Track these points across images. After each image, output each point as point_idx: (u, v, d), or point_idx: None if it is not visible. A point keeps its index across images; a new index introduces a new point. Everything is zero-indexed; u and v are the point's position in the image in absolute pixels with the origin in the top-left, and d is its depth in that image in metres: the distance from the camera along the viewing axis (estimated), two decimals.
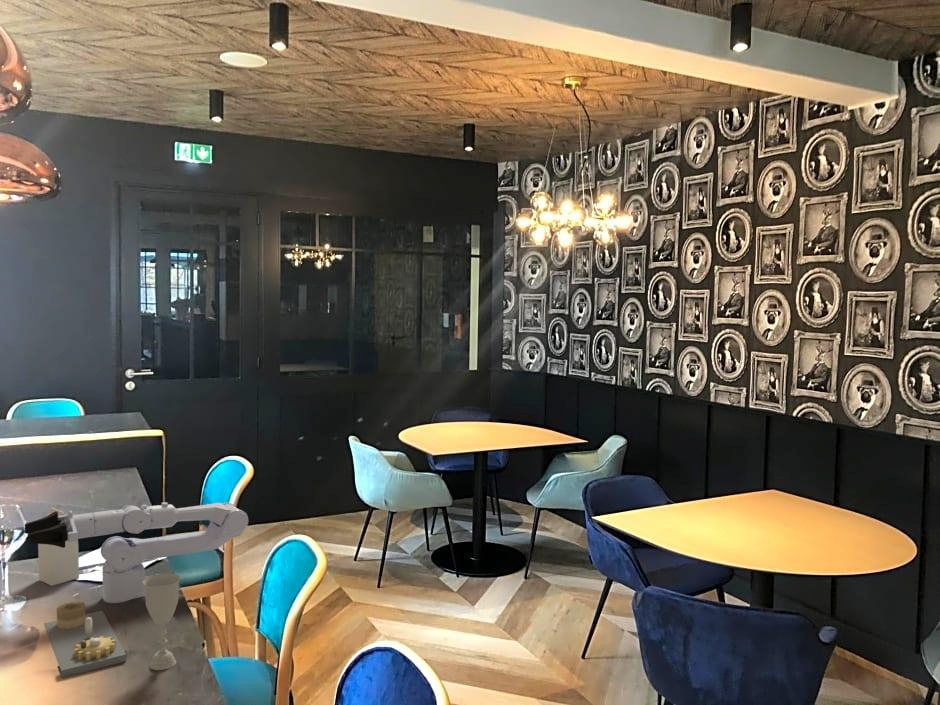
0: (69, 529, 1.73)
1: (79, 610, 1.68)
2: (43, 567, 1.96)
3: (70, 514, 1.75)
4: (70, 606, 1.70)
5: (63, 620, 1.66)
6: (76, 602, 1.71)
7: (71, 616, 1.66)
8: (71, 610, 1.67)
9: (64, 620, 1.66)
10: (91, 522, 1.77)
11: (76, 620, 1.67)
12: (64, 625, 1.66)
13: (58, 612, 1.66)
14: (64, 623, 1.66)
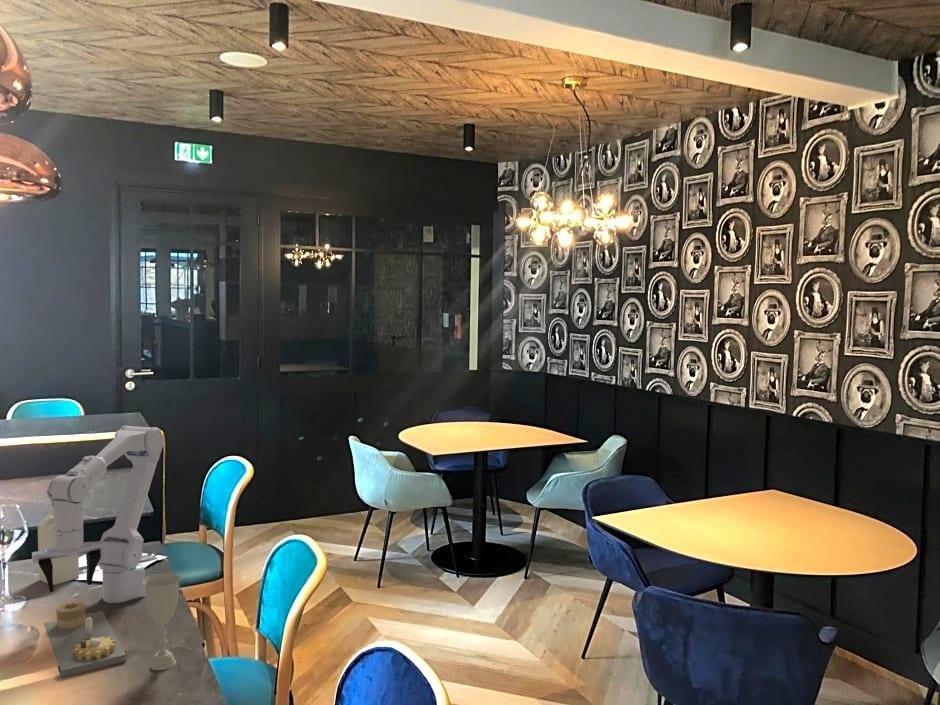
0: None
1: (79, 610, 1.68)
2: None
3: None
4: (70, 606, 1.70)
5: (63, 620, 1.66)
6: (76, 602, 1.71)
7: (71, 616, 1.66)
8: (71, 610, 1.67)
9: (64, 620, 1.66)
10: (82, 530, 1.68)
11: (76, 620, 1.67)
12: (64, 625, 1.66)
13: (58, 612, 1.66)
14: (64, 623, 1.66)
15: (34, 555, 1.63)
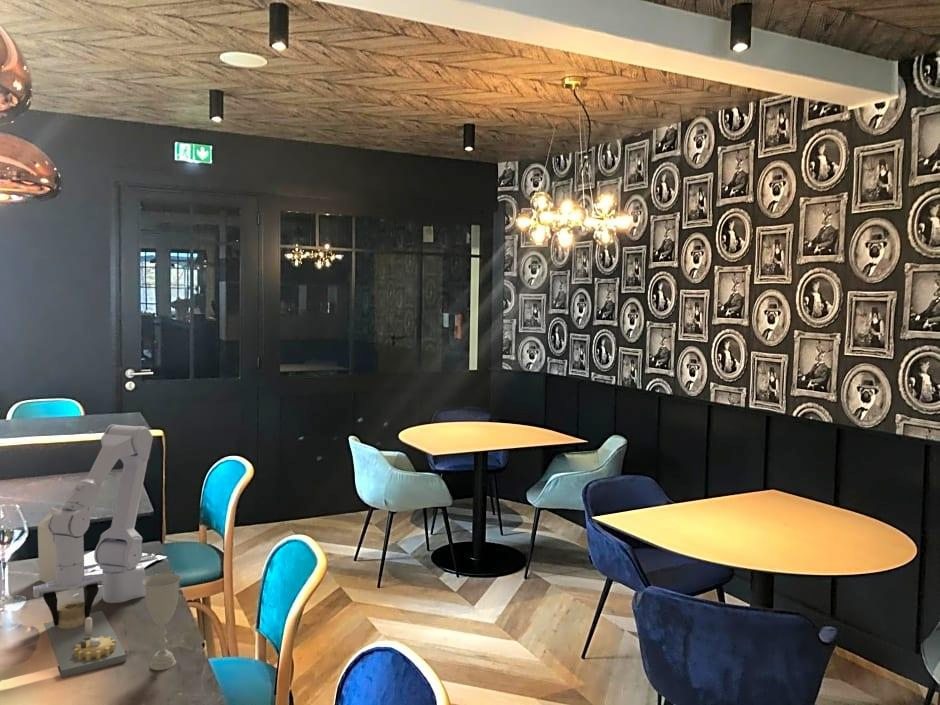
0: None
1: (79, 610, 1.68)
2: (43, 567, 1.96)
3: None
4: (70, 606, 1.70)
5: (63, 620, 1.66)
6: (76, 602, 1.71)
7: (71, 616, 1.66)
8: (71, 610, 1.67)
9: (64, 620, 1.66)
10: (83, 564, 1.68)
11: (76, 620, 1.67)
12: (64, 625, 1.66)
13: (58, 612, 1.66)
14: (64, 623, 1.66)
15: (35, 590, 1.63)
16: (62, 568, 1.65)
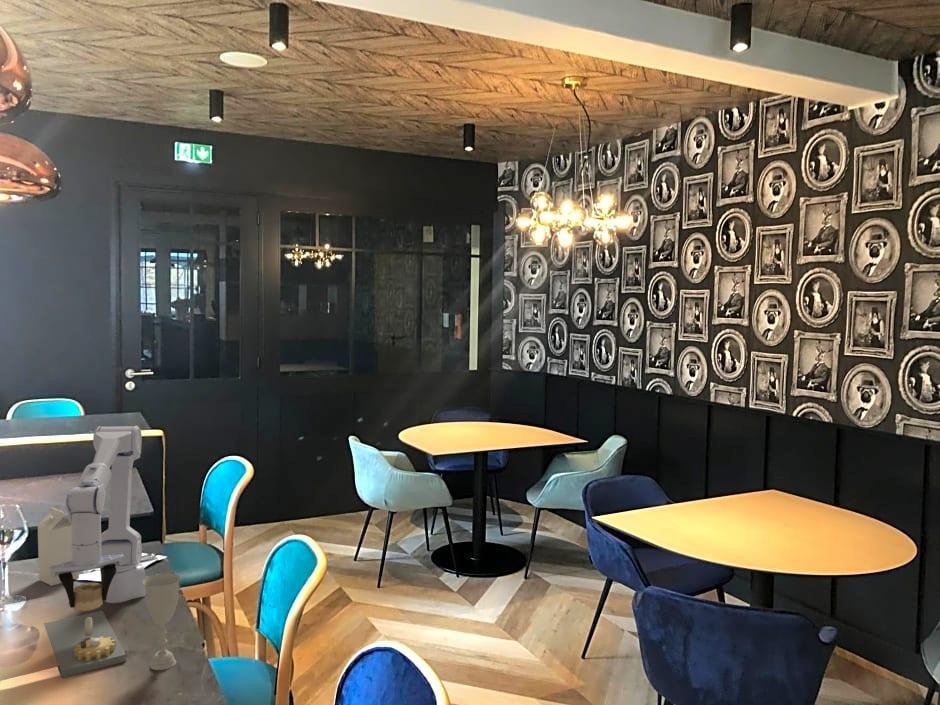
0: None
1: (96, 591, 1.60)
2: (43, 567, 1.96)
3: None
4: (87, 588, 1.63)
5: (80, 602, 1.59)
6: (93, 584, 1.63)
7: (88, 598, 1.59)
8: (88, 591, 1.59)
9: (81, 602, 1.59)
10: (100, 544, 1.61)
11: (93, 602, 1.60)
12: (81, 607, 1.59)
13: (74, 593, 1.59)
14: (80, 605, 1.59)
15: (51, 570, 1.56)
16: (79, 547, 1.58)
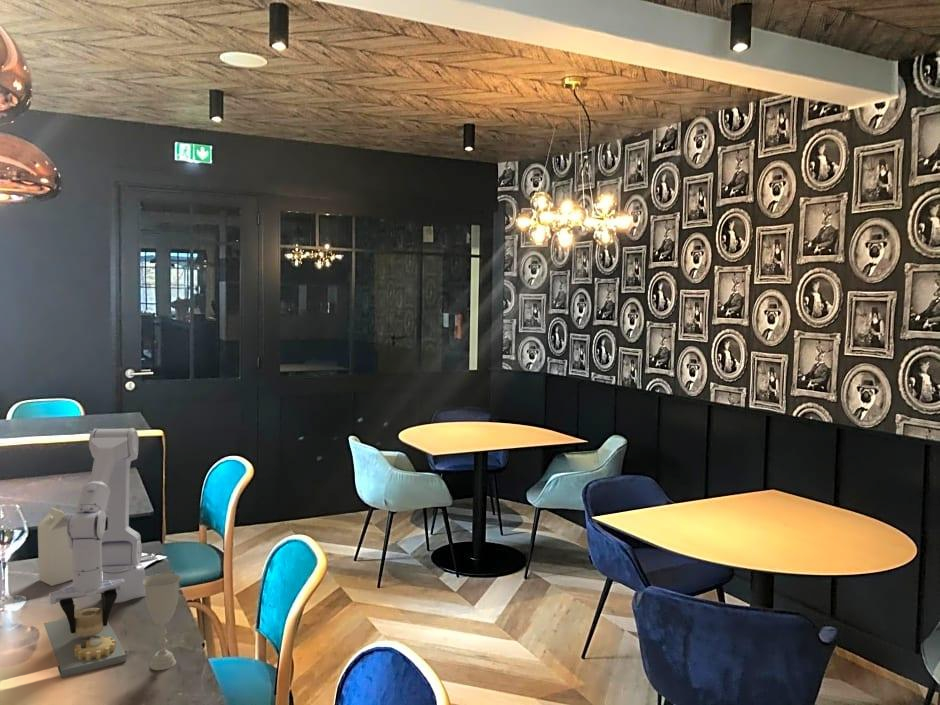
0: None
1: (97, 617, 1.61)
2: (43, 567, 1.96)
3: None
4: (87, 613, 1.63)
5: (80, 628, 1.59)
6: (94, 609, 1.64)
7: (89, 623, 1.59)
8: (89, 617, 1.60)
9: (81, 628, 1.59)
10: (101, 569, 1.61)
11: (94, 627, 1.60)
12: (81, 633, 1.59)
13: (75, 619, 1.59)
14: (81, 631, 1.59)
15: (51, 596, 1.56)
16: (79, 573, 1.58)
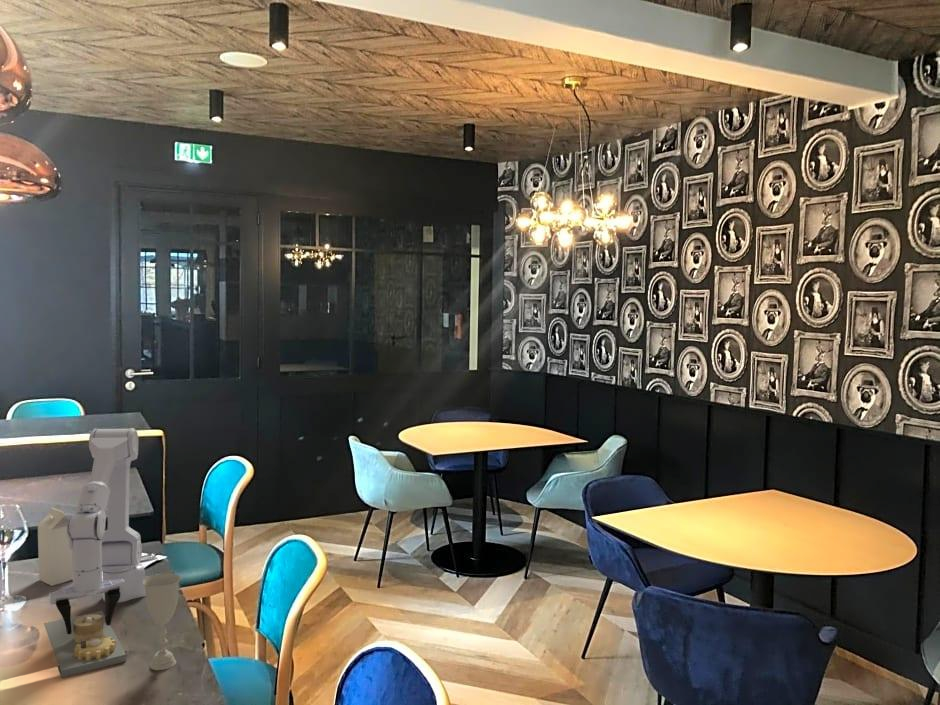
0: None
1: (97, 624, 1.61)
2: (43, 567, 1.96)
3: None
4: None
5: (80, 635, 1.59)
6: (94, 616, 1.64)
7: (89, 630, 1.60)
8: (89, 624, 1.60)
9: (81, 635, 1.59)
10: (101, 569, 1.61)
11: (94, 634, 1.60)
12: (81, 640, 1.59)
13: (75, 626, 1.60)
14: (81, 638, 1.59)
15: (51, 596, 1.56)
16: (79, 574, 1.58)
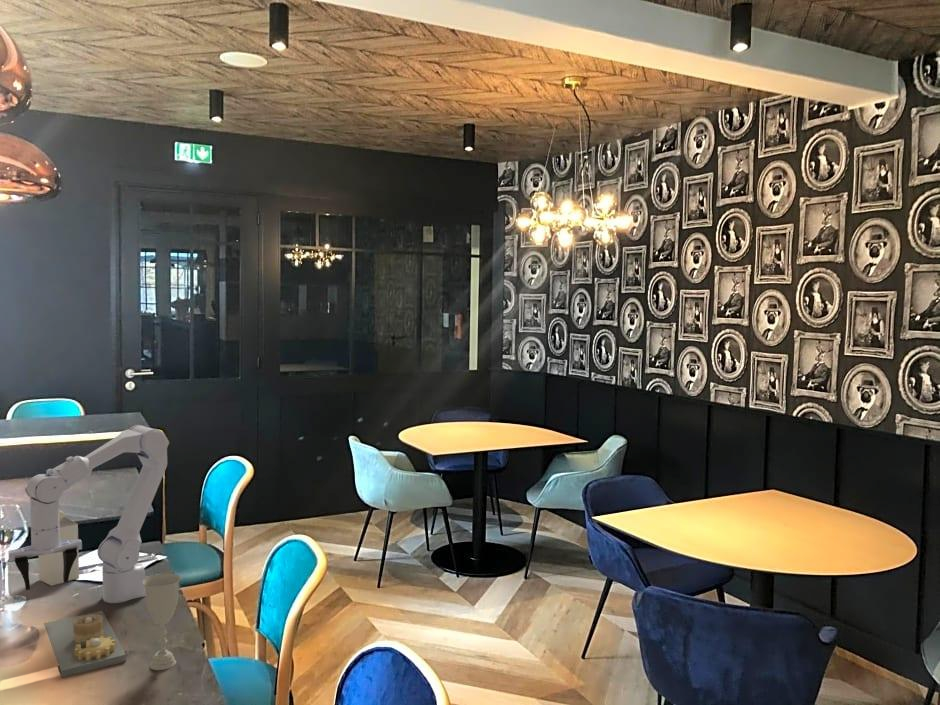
0: None
1: (97, 624, 1.61)
2: (43, 567, 1.96)
3: None
4: None
5: (80, 635, 1.59)
6: (94, 616, 1.64)
7: (89, 630, 1.60)
8: (89, 624, 1.60)
9: (81, 635, 1.59)
10: (58, 529, 1.70)
11: (94, 634, 1.60)
12: (81, 640, 1.59)
13: (75, 626, 1.60)
14: (81, 638, 1.59)
15: (10, 553, 1.65)
16: (37, 532, 1.67)
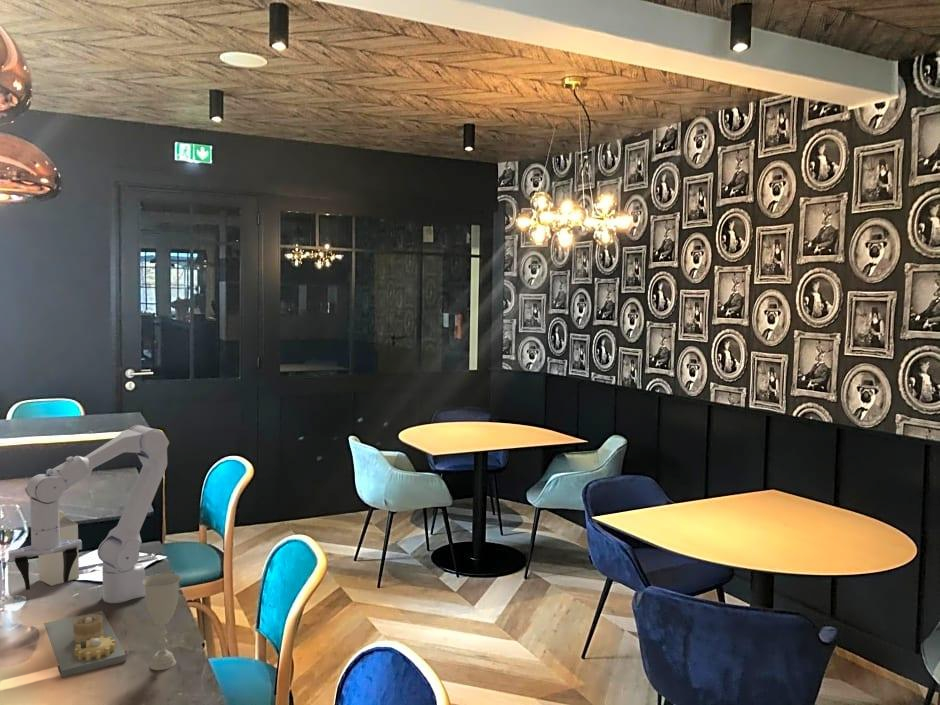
0: None
1: (97, 624, 1.61)
2: (43, 567, 1.96)
3: None
4: None
5: (80, 635, 1.59)
6: (94, 616, 1.64)
7: (89, 630, 1.60)
8: (89, 624, 1.60)
9: (81, 635, 1.59)
10: (58, 529, 1.70)
11: (94, 634, 1.60)
12: (81, 640, 1.59)
13: (75, 626, 1.60)
14: (81, 638, 1.59)
15: (10, 553, 1.65)
16: (37, 532, 1.67)
